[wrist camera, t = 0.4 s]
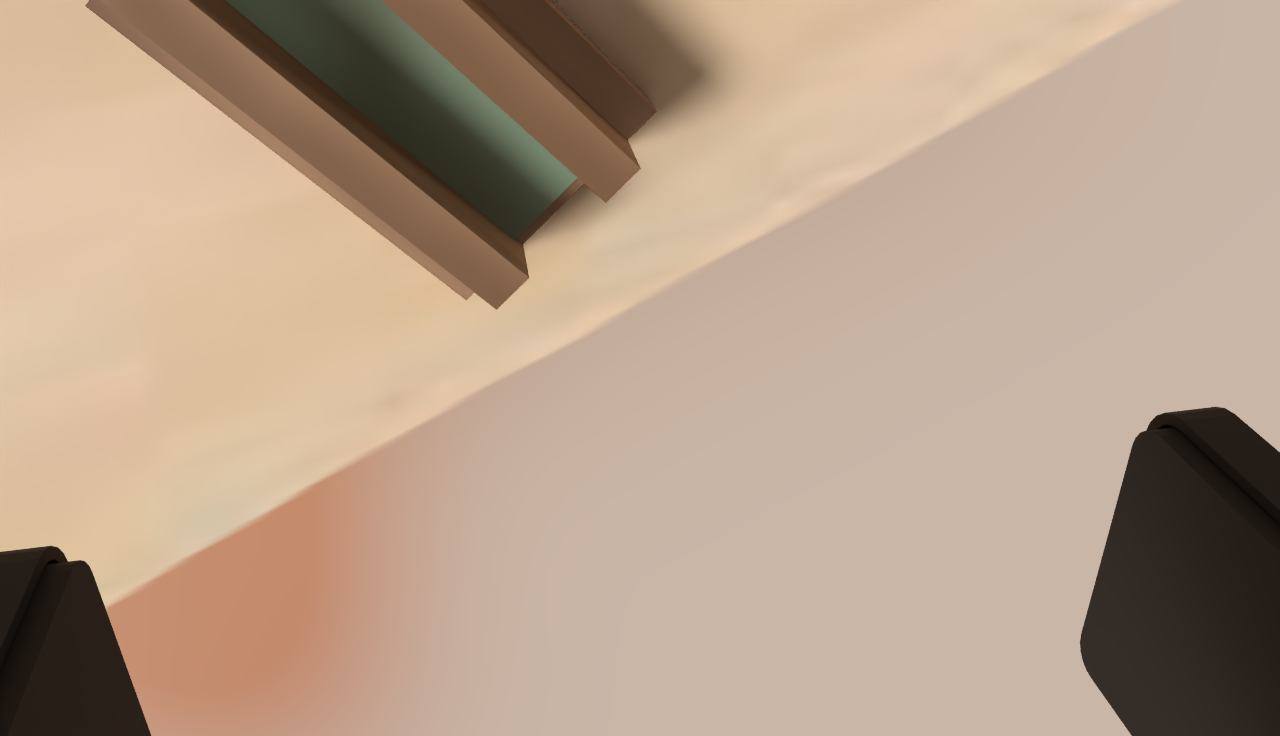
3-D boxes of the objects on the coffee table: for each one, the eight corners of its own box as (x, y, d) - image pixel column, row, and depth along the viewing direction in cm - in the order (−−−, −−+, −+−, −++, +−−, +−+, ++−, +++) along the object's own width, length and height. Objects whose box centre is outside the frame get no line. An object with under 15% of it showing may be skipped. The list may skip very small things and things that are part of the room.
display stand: (293, -255, 29) (278, -249, 26) (650, 99, 36) (671, 138, 33) (95, -5, 31) (60, 28, 28) (464, 284, 38) (468, 336, 35)
